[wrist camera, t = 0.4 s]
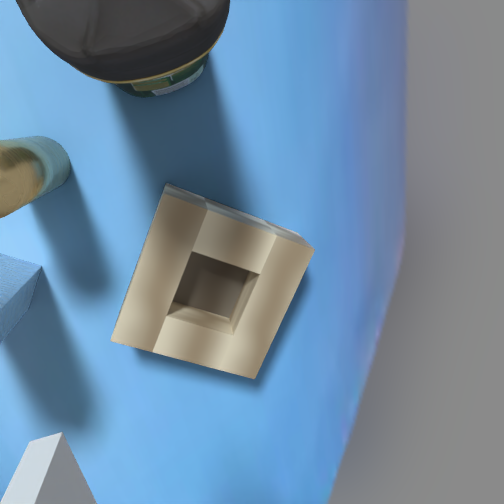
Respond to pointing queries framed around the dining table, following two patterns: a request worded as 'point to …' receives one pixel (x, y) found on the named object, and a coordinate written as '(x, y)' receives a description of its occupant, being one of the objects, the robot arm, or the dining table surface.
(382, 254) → the dining table surface
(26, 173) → the round bit
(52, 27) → the coffee jar
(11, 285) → the square bit
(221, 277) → the socket block
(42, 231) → the dining table surface
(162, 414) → the dining table surface
